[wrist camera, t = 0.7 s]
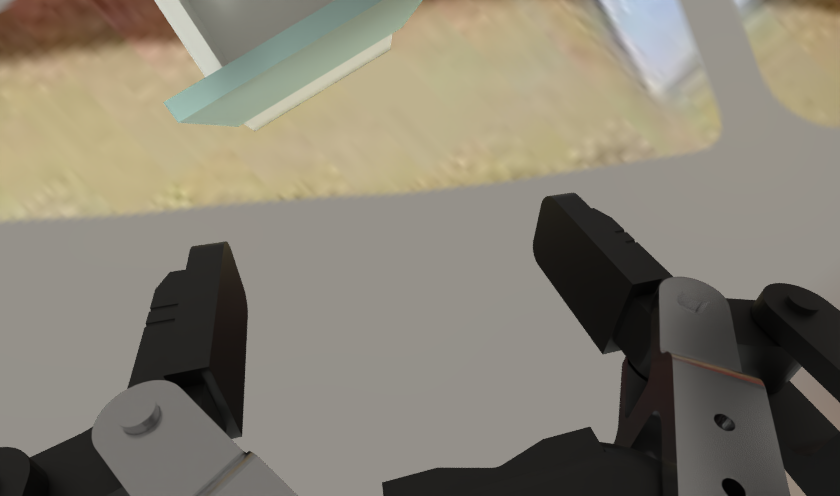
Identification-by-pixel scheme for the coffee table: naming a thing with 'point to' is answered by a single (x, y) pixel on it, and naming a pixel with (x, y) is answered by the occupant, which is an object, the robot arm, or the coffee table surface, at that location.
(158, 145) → the coffee table surface
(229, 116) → the lid
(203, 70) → the storage box
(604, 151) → the coffee table surface
